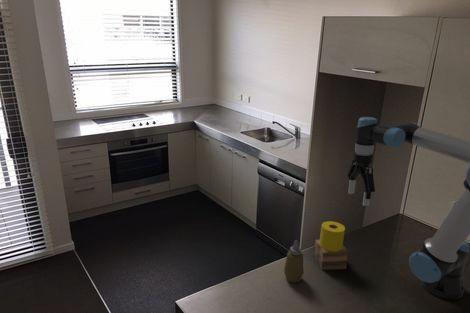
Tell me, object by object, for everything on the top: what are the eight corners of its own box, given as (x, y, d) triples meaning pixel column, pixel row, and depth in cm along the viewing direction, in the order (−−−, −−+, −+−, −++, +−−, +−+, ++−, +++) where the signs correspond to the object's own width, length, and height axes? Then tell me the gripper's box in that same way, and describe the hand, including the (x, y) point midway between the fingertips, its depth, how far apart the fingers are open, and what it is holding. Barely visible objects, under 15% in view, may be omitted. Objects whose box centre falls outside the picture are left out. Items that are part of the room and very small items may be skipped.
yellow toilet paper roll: (314, 242, 164) (317, 223, 161) (332, 238, 168) (334, 219, 165) (329, 253, 155) (331, 233, 152) (347, 248, 159) (349, 229, 156)
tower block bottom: (345, 269, 159) (347, 260, 158) (321, 270, 158) (322, 261, 157) (336, 255, 170) (337, 247, 169) (314, 256, 169) (315, 248, 167)
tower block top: (346, 260, 158) (348, 251, 157) (322, 261, 157) (323, 252, 156) (337, 247, 169) (338, 238, 167) (314, 248, 167) (315, 239, 166)
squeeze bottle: (306, 278, 152) (310, 241, 146) (295, 287, 146) (299, 248, 141) (290, 270, 157) (293, 233, 152) (279, 278, 151) (282, 240, 146)
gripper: (388, 161, 143) (381, 210, 149) (358, 145, 167) (353, 188, 173) (370, 162, 142) (364, 211, 148) (342, 146, 166) (338, 189, 172)
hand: (358, 199), depth 161 cm, fingers open, 13 cm apart
